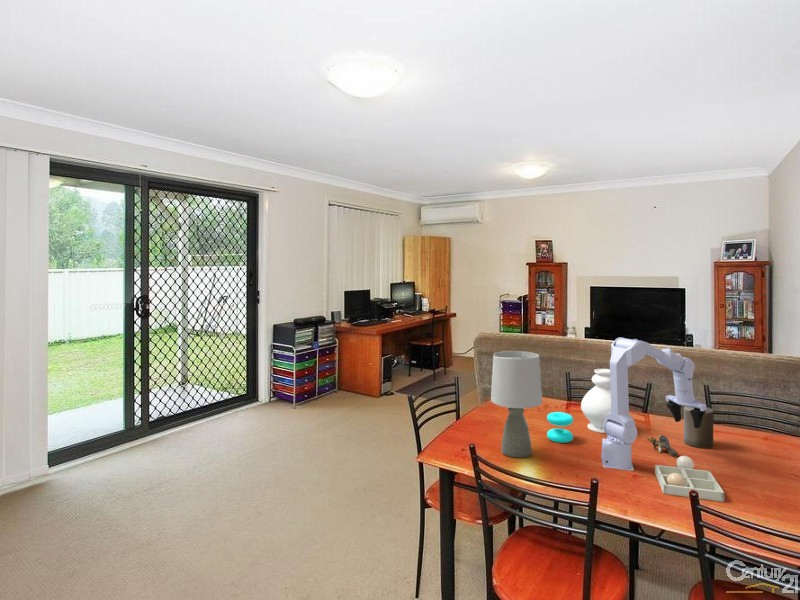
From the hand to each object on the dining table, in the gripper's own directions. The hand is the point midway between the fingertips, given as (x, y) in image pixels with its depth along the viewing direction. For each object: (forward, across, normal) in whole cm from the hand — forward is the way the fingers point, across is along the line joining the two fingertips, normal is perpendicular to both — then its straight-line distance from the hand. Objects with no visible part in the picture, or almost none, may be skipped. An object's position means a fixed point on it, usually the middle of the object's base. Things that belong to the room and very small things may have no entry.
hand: (687, 424), depth 169 cm
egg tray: (+6, -20, +26) cm, 33 cm away
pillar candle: (+12, +4, -10) cm, 16 cm away
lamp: (+1, +24, +58) cm, 63 cm away
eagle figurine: (+9, +4, +9) cm, 14 cm away
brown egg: (+5, -20, +32) cm, 38 cm away
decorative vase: (+9, +32, +10) cm, 35 cm away
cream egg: (+8, -11, +17) cm, 21 cm away
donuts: (+5, +29, +35) cm, 46 cm away
